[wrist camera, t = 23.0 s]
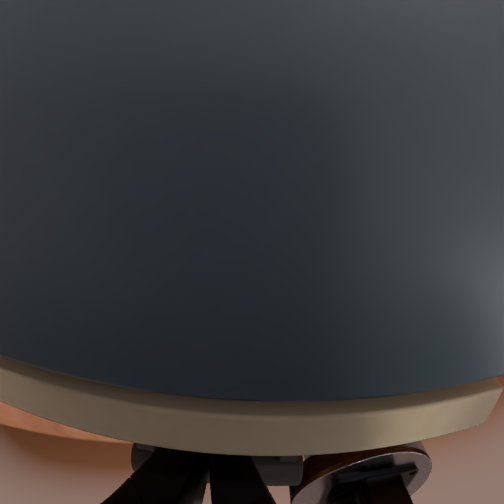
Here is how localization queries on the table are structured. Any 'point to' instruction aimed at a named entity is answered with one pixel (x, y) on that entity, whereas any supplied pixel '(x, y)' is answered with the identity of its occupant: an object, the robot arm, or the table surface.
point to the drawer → (245, 419)
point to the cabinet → (254, 194)
